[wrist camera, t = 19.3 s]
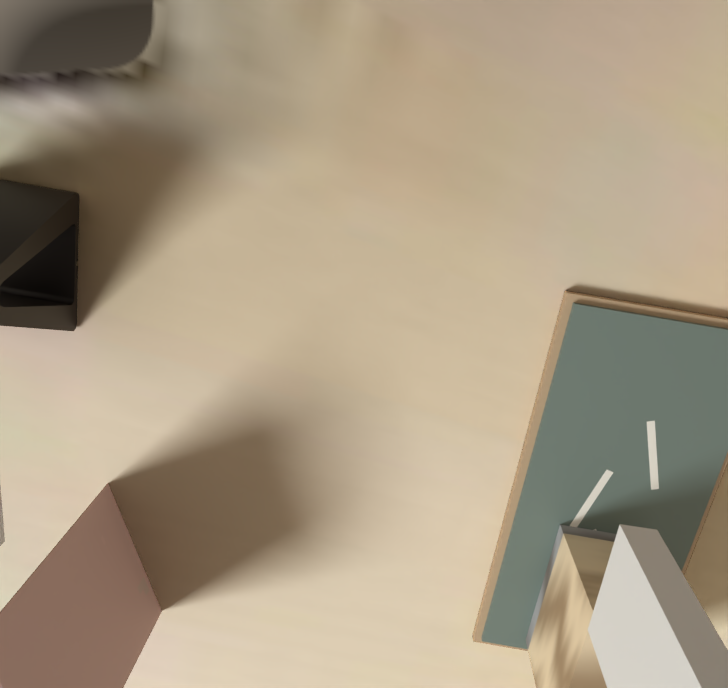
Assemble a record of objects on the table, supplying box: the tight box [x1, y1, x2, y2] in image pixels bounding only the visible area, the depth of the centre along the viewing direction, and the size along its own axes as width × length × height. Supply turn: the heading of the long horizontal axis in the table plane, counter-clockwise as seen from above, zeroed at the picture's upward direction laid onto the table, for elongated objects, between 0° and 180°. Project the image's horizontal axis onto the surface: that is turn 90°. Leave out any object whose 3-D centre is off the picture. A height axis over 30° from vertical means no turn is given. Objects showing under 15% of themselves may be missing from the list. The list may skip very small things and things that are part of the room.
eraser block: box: [526, 525, 617, 688], centre depth 42 cm, size 10×6×8 cm, turn 171°
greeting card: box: [0, 484, 162, 688], centre depth 42 cm, size 11×7×15 cm, turn 159°
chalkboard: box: [473, 291, 728, 651], centre depth 44 cm, size 27×13×1 cm, turn 171°
